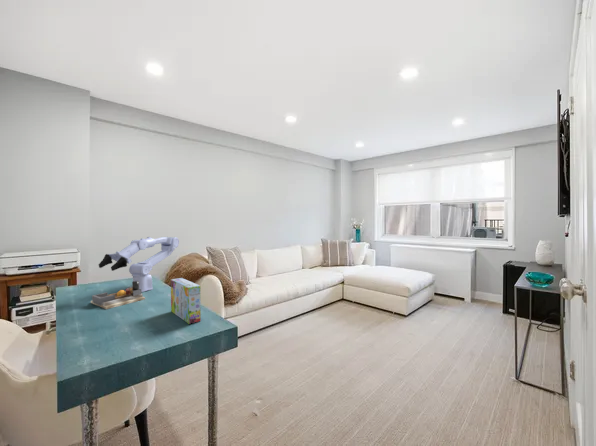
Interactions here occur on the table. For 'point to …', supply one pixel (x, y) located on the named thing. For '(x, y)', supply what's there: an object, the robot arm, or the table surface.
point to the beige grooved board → (121, 300)
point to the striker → (134, 289)
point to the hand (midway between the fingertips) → (105, 267)
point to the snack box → (186, 300)
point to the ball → (121, 293)
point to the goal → (102, 298)
